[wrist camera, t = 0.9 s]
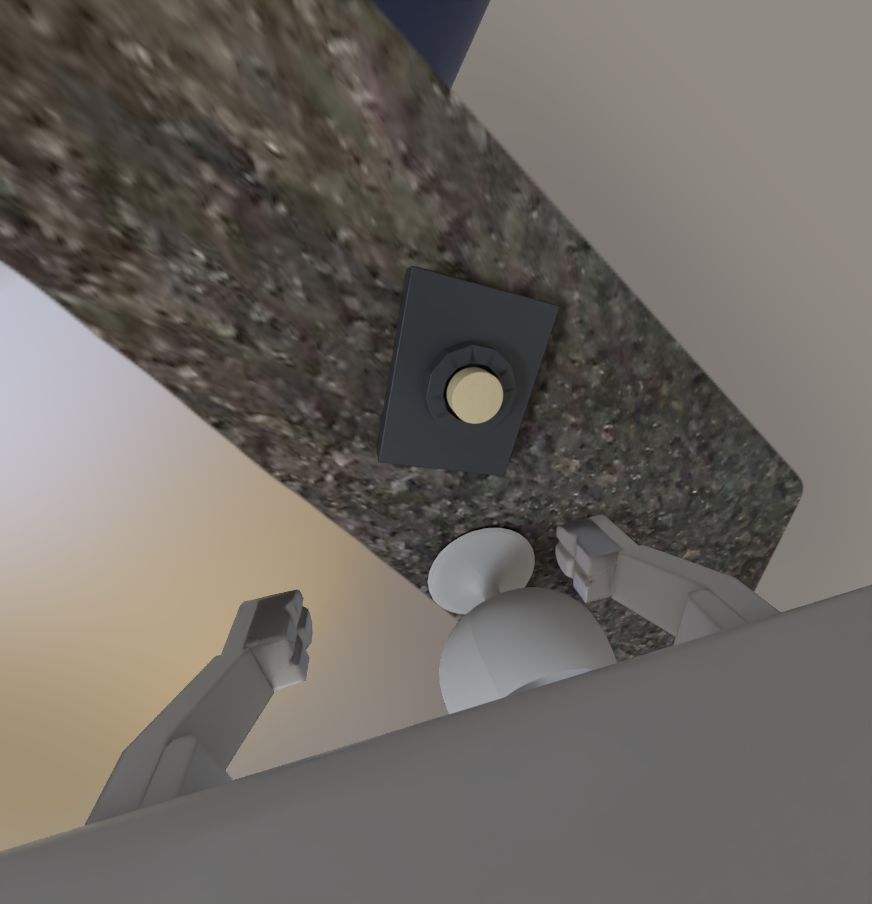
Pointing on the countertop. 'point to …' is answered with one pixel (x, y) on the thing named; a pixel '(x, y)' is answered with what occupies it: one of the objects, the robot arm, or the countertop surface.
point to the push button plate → (446, 353)
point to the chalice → (507, 622)
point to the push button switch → (474, 395)
